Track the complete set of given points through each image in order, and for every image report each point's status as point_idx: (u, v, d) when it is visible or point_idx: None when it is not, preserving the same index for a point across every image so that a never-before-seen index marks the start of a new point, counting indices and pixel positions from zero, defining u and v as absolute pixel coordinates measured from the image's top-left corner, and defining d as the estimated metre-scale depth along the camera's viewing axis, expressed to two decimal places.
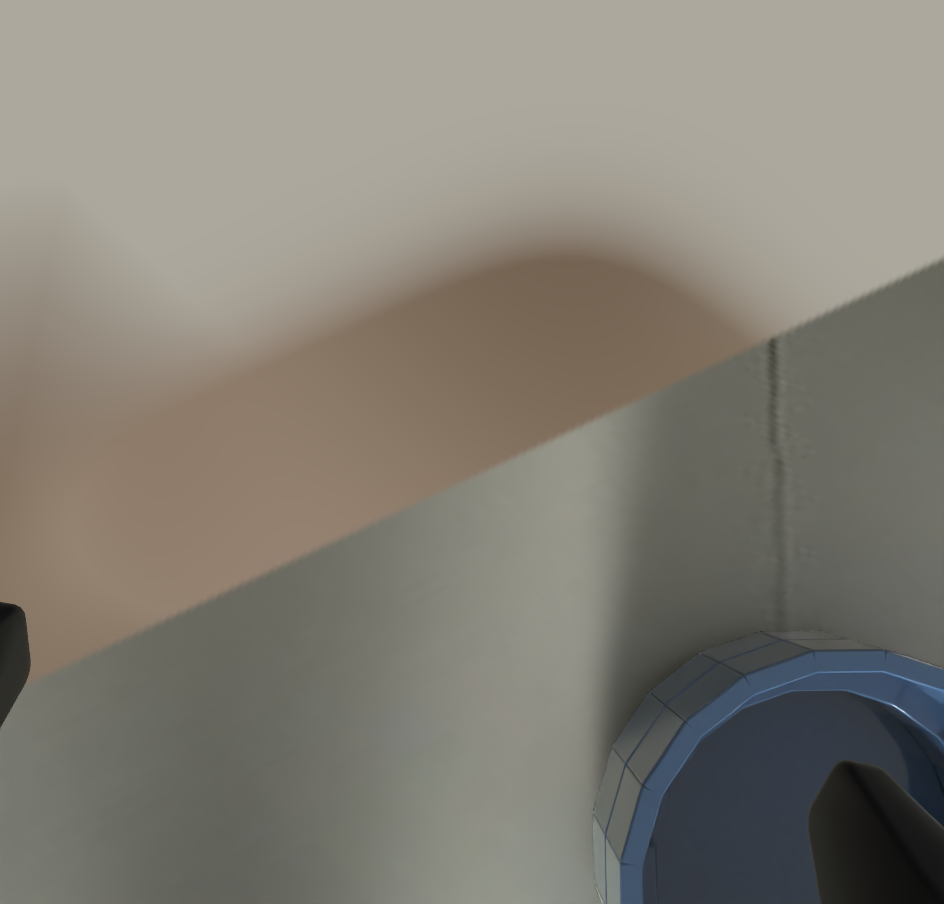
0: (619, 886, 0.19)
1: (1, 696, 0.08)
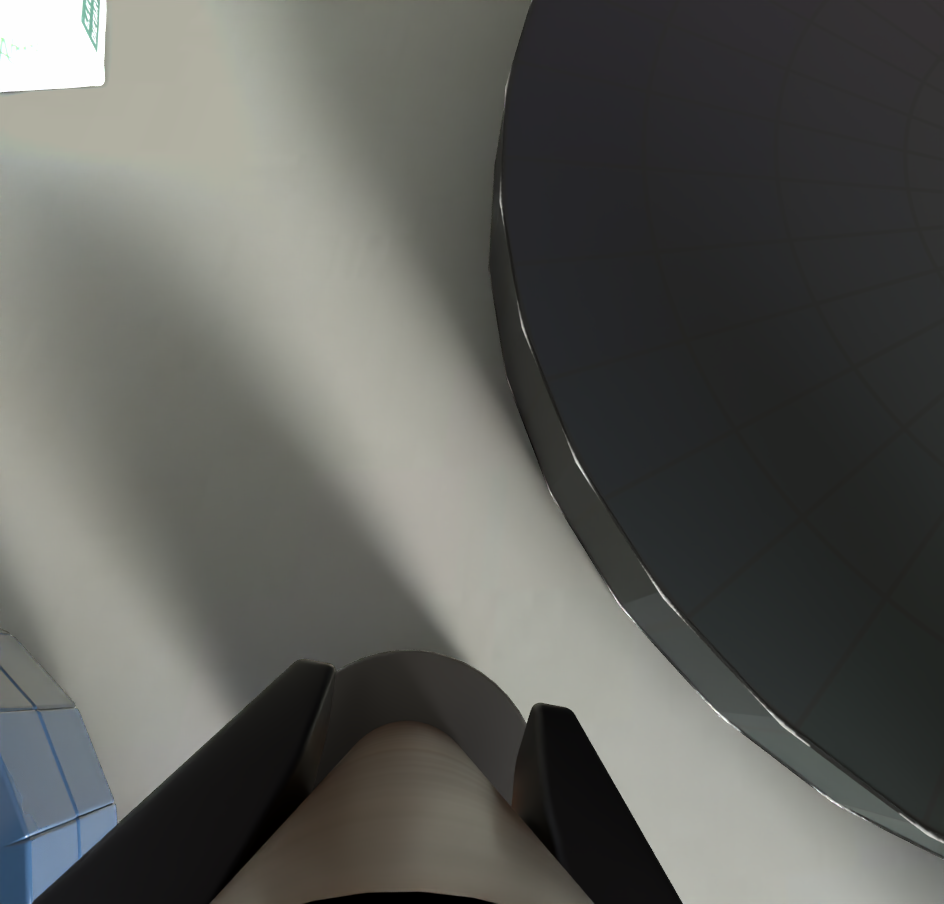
0: None
1: (318, 754, 0.08)
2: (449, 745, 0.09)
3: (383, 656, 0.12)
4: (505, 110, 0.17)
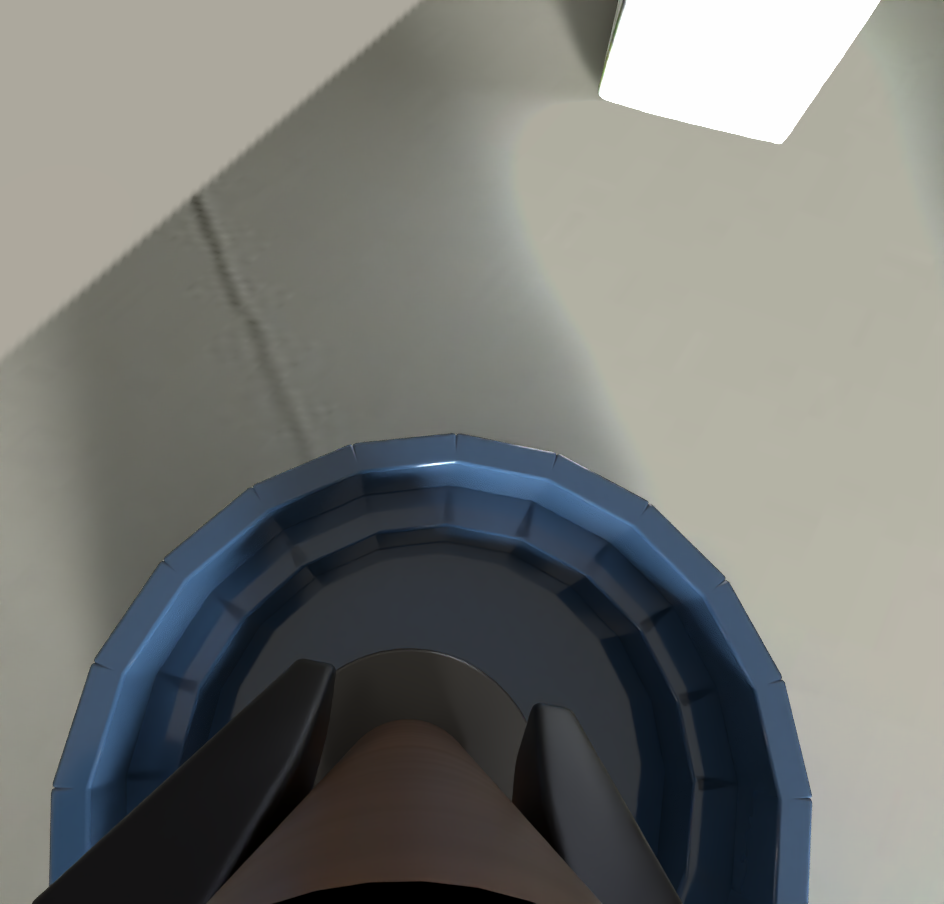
0: None
1: (318, 754, 0.08)
2: (450, 743, 0.09)
3: (384, 654, 0.12)
4: None
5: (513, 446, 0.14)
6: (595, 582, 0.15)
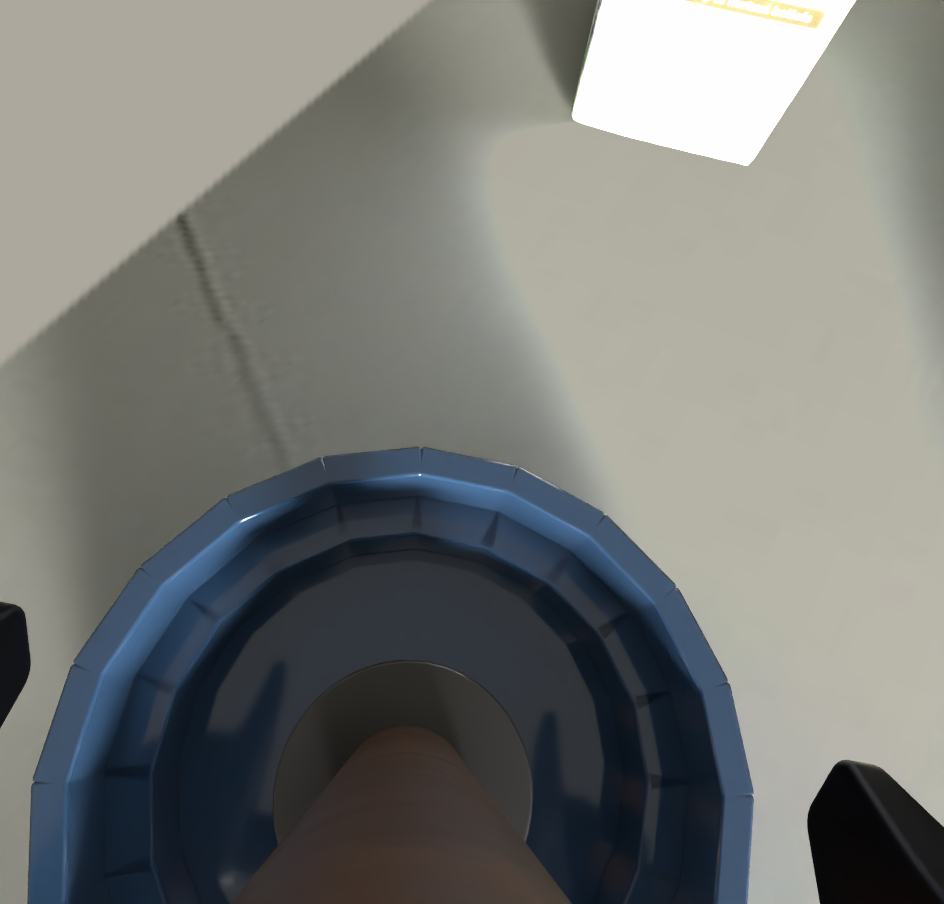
0: None
1: (1, 696, 0.08)
2: (443, 748, 0.10)
3: (384, 665, 0.13)
4: None
5: (475, 460, 0.15)
6: (556, 589, 0.16)
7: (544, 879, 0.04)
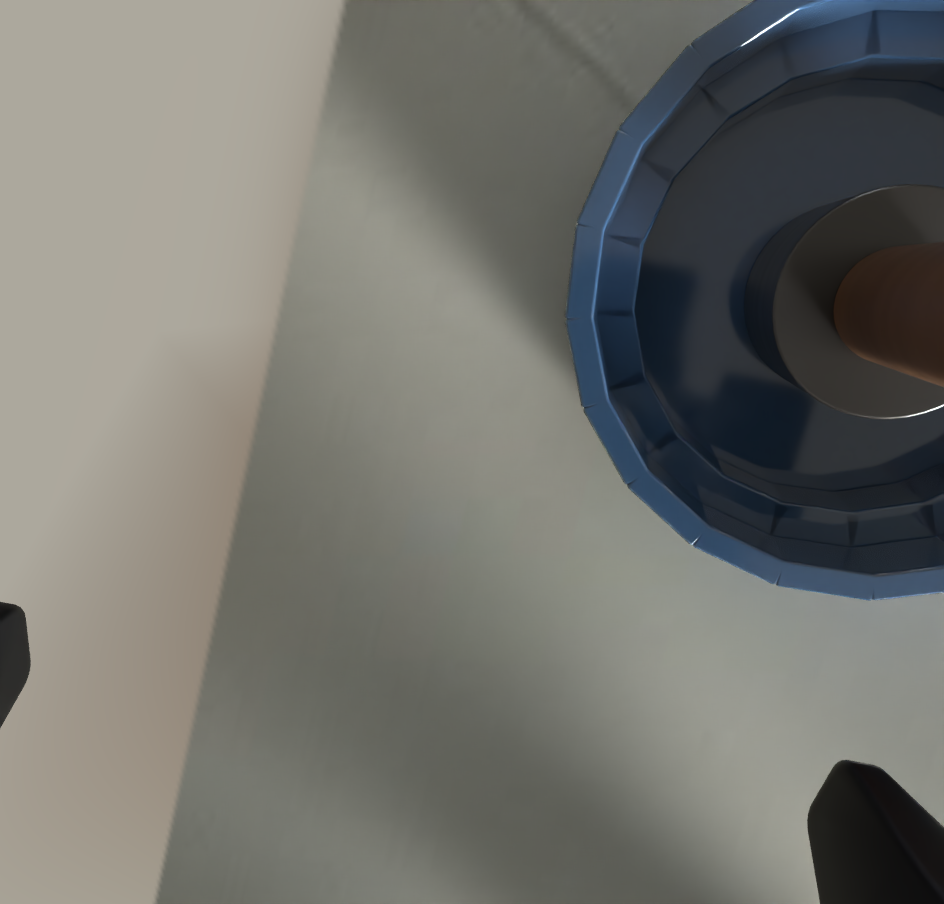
0: None
1: (1, 696, 0.08)
2: None
3: (837, 210, 0.14)
4: None
5: None
6: None
7: None
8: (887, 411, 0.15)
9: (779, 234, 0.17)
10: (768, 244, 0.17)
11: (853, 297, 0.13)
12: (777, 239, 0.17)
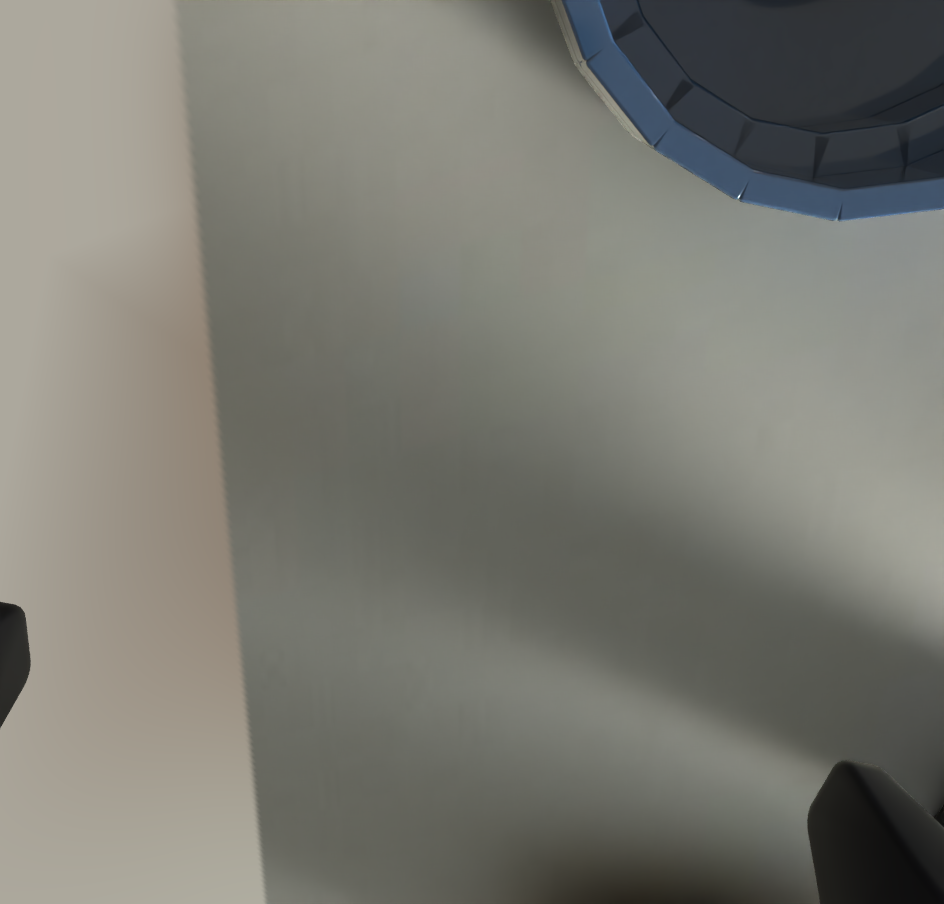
0: (678, 164, 0.14)
1: (1, 696, 0.08)
2: None
3: None
4: None
5: None
6: None
7: None
8: None
9: None
10: None
11: None
12: None
